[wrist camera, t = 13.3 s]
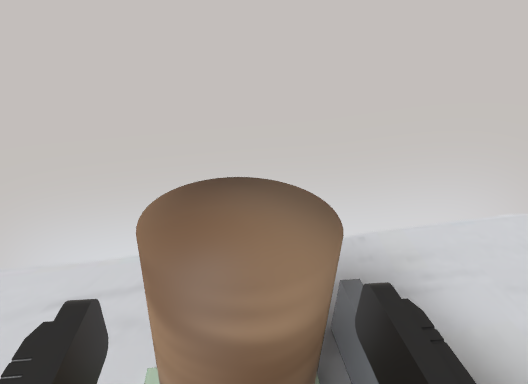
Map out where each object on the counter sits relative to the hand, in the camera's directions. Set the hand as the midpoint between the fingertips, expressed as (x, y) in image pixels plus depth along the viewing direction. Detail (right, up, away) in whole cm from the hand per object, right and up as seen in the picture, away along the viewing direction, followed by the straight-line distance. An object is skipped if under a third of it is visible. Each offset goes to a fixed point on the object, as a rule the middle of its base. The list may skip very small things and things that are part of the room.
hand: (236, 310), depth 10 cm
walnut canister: (0, -8, +4) cm, 9 cm away
